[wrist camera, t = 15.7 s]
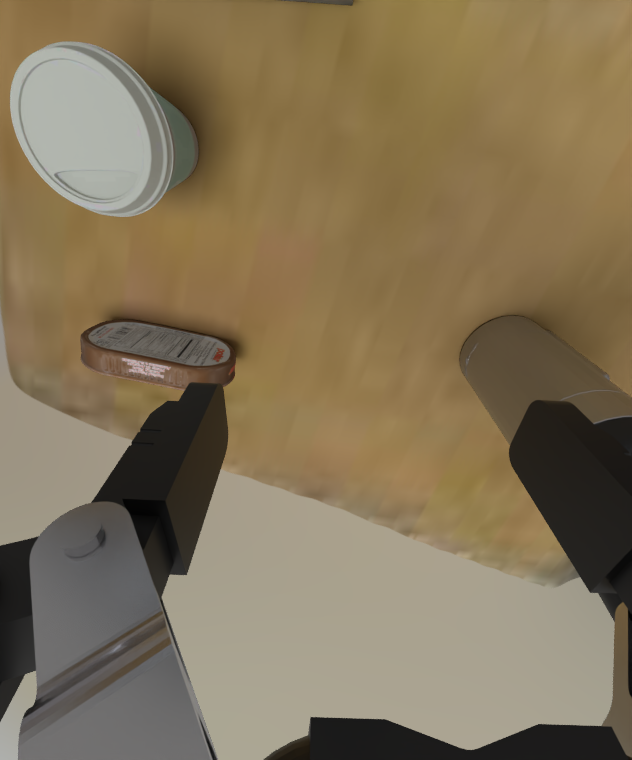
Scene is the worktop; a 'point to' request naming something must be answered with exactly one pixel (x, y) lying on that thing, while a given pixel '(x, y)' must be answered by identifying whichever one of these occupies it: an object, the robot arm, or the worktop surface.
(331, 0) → the large crate
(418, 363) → the worktop surface
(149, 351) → the tin
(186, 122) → the coffee cup
